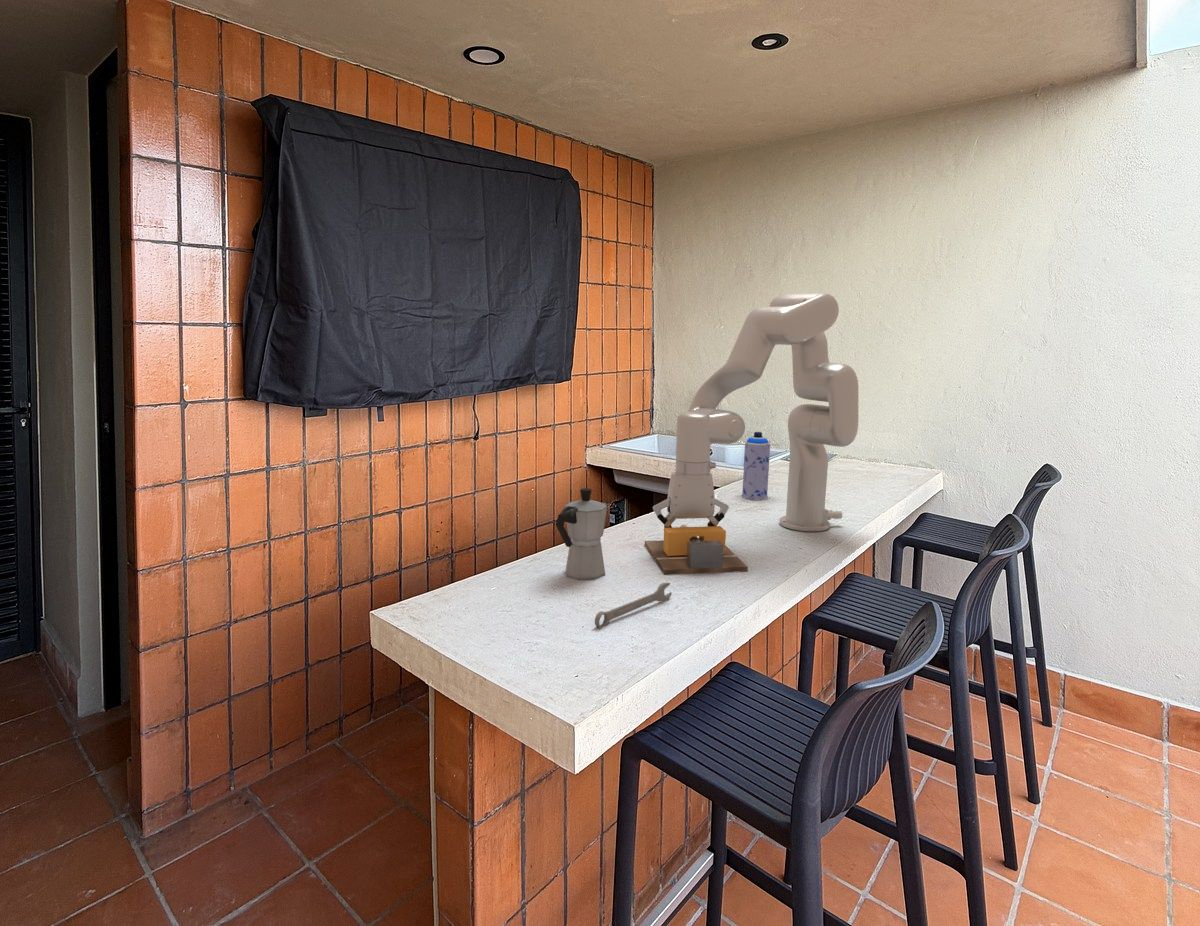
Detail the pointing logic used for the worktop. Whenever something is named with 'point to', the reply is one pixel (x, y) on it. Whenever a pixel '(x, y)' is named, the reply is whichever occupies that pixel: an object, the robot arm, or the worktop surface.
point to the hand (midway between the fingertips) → (689, 541)
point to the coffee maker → (583, 536)
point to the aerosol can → (756, 468)
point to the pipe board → (679, 562)
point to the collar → (681, 535)
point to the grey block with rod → (704, 553)
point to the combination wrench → (633, 605)
